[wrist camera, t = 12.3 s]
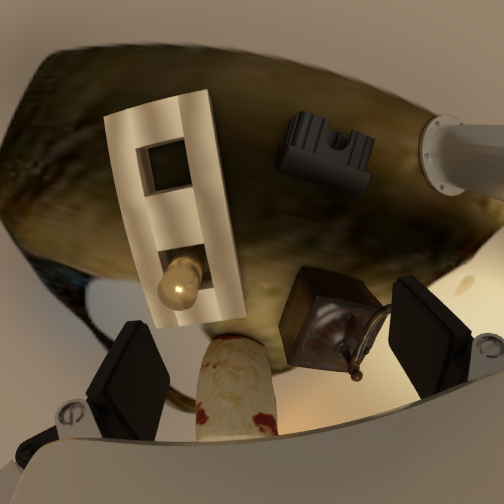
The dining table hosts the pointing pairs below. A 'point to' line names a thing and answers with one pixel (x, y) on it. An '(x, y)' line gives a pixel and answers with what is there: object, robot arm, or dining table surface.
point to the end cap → (325, 155)
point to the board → (176, 205)
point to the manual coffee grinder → (330, 322)
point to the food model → (235, 392)
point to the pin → (183, 278)
